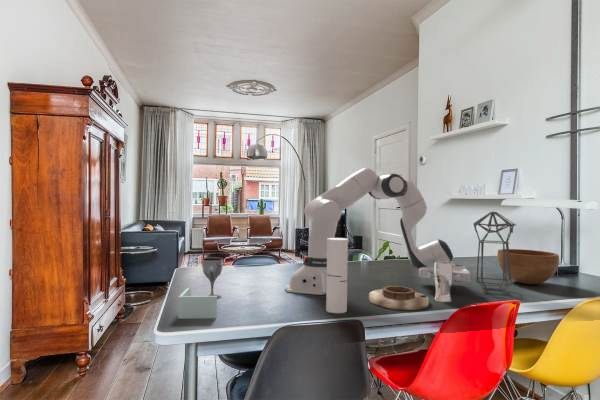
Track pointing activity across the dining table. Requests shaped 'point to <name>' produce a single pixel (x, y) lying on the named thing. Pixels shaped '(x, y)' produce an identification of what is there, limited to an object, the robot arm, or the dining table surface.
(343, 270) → the cylindrical container
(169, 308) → the dining table surface
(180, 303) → the right angle wall
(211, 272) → the wine glass
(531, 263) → the bowl
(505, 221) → the geometric lantern
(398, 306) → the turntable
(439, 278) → the beer glass
